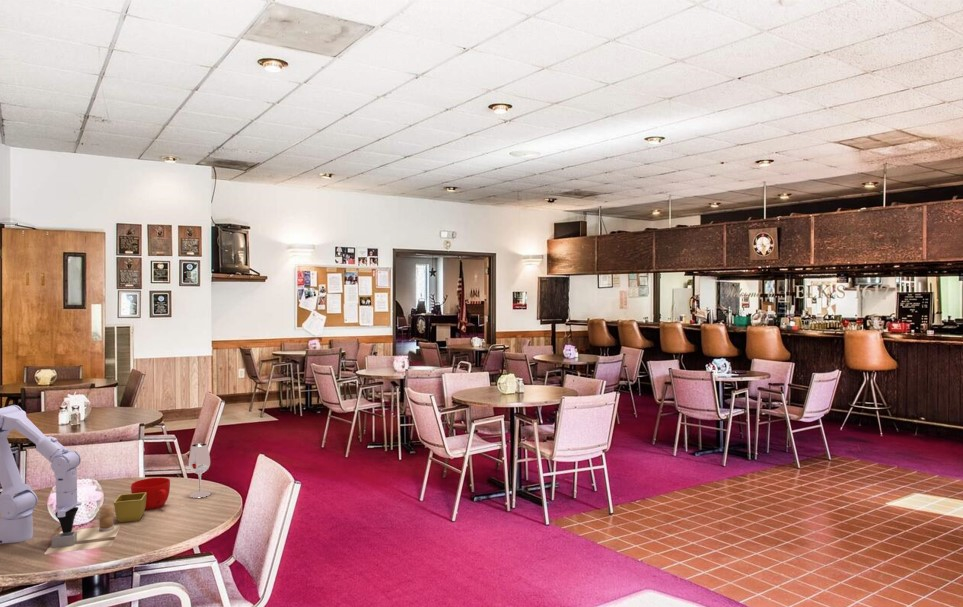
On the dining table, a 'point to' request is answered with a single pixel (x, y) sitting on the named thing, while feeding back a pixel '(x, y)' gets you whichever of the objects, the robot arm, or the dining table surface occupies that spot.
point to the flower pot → (130, 506)
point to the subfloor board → (88, 540)
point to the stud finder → (64, 539)
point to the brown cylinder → (106, 518)
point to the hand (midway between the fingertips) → (67, 532)
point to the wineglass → (199, 464)
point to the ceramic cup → (153, 491)
